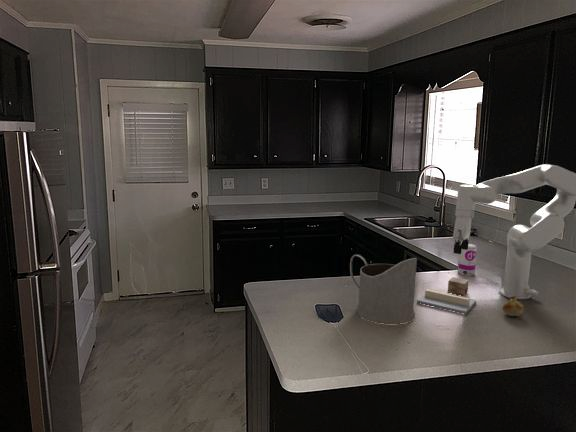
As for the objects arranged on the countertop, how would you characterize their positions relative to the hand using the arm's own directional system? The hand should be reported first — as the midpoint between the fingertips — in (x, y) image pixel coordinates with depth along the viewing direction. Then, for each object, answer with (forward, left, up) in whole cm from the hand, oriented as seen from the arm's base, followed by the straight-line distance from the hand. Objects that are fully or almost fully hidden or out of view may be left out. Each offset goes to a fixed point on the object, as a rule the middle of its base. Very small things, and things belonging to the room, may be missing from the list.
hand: (460, 251), depth 210 cm
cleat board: (-1, +17, -19) cm, 25 cm away
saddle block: (-1, +1, -19) cm, 19 cm away
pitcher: (+19, +42, -19) cm, 50 cm away
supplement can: (+4, -31, -19) cm, 37 cm away
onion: (-26, +14, -19) cm, 35 cm away
